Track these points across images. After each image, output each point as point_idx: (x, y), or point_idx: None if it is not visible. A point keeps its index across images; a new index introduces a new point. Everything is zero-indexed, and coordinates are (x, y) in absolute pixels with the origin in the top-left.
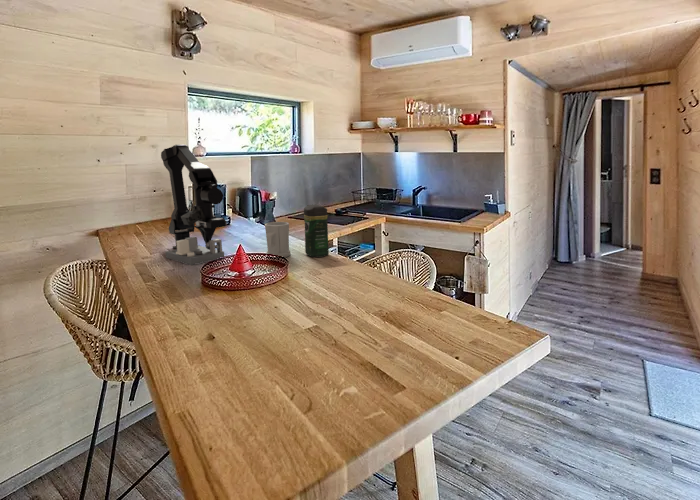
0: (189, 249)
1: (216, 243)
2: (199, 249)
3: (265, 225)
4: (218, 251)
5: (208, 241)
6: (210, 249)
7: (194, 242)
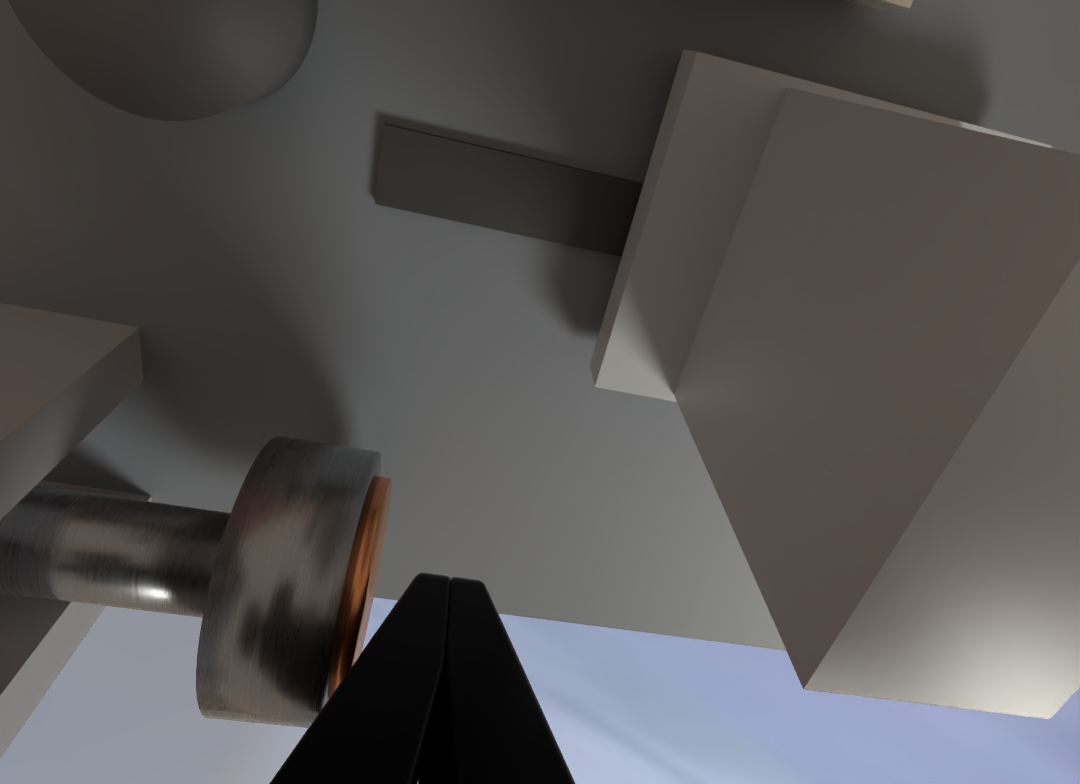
0: (790, 109)
1: (24, 665)
2: (597, 369)
3: None
4: (82, 490)
5: (270, 653)
6: (61, 369)
7: (781, 415)
